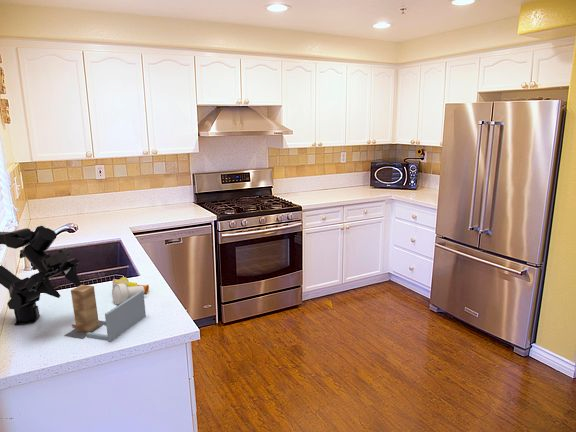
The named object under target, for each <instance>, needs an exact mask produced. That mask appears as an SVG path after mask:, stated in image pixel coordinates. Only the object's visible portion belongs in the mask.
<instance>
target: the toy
mask: <svg viewBox="0 0 576 432" xmlns="http://www.w3.org/2000/svg"><path fill="white" fill-rule="evenodd" d="M120 283H124V284H125V285H126V286H127V287H132V286H143V287H144V291H145V293H144V295H145V294H146V293H147V294H148V293H149V289H150V286H149V285H150V284H146V285H145V284H138V282H132V281H129V279H128V278H127V277H125V276H123V277H120V278H119V279H116V278H113V279H112V287H113V286H114V285H115V284H120ZM147 294H146V295H147Z"/></svg>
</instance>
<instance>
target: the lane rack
mask: <svg viewBox="0 0 576 432" xmlns="http://www.w3.org/2000/svg"><path fill="white" fill-rule="evenodd" d="M145 304H146V303H145V293H143V291H140V292H138V293H137V294H135V295H134V296H132V297H130V298H129V299H127V300H126V301H124V302H123V303H121V304H117V305H116V306H115V307H113V308H111V309H110V310H109V311H107V312H105V313H104V318H105V320H104V321H105V322H104V325H103V326H105V327H106V334H104V333H103V334H102V333H96V332H92V333H91V332H88V333H86V335H87V337H86V338H88V339H94V340H99V341H100V340H101V341H102V340H103V341H108V343H112V342H113V341H115V340H117V338H118V337H119V336H121V335H123V334H124V333H126V331H127V330H129V329H130V328H132V327H133V326H135V325H136V324H137V323H138V322H140V321H141V320H143V319H144V318H145V317H146V316H147V315H146V314H147V313H146V305H145Z"/></svg>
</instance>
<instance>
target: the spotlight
mask: <svg viewBox="0 0 576 432" xmlns="http://www.w3.org/2000/svg"><path fill="white" fill-rule="evenodd" d="M140 291H143V293H144V294H145V291H144V287H143V286H132V287H127V286H126V285H125V284H124V283H120V284H115V285H114V286H113V285H112V290H111V296H112V301H113V303H114V304H115V305H116V306H118V305H120V304H121V303H123V302H124V301H126V300H127V299H129V298H130V297H132V296H134V295H135V294H137V293H138V292H140Z"/></svg>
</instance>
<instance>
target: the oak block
mask: <svg viewBox="0 0 576 432" xmlns="http://www.w3.org/2000/svg"><path fill="white" fill-rule="evenodd" d="M70 294H71V302H72V308H73V315H74V321H75V324H74V323H72V324H71V327H73V328H76V330H77V331H79V332H86V333H88V332H91V331H92V330H94V329H95V328H97V327H98V326H99V321H98V320H99V314H98V307H97V299H96V292H95V286H94V285H90V284H89V285H88V284H81V285H80V286H78V287H77V286H76V287H74V288H72V289H71V290H70Z"/></svg>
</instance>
